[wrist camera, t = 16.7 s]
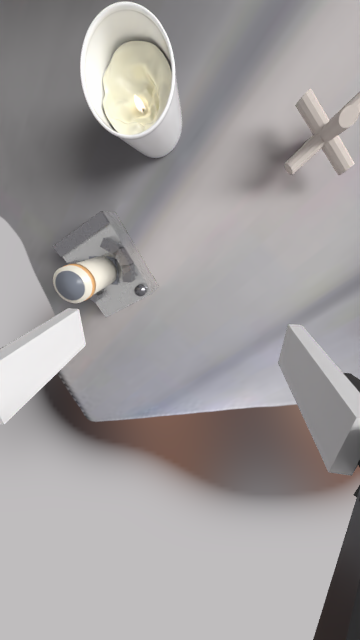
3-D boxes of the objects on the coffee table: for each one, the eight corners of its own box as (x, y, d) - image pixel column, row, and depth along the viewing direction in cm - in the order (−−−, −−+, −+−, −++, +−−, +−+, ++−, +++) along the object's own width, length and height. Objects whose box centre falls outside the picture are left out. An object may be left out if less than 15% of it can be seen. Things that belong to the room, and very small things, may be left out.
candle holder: (123, 160, 35) (82, 132, 24) (124, 76, 30) (75, -4, 20) (182, 168, 34) (169, 143, 23) (192, 83, 30) (180, 4, 19)
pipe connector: (296, 203, 34) (326, 196, 25) (258, 147, 32) (276, 118, 23) (362, 146, 30) (426, 114, 21) (324, 79, 28) (377, 11, 19)
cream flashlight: (93, 283, 39) (55, 303, 30) (88, 254, 37) (47, 265, 27) (120, 285, 38) (91, 305, 29) (117, 255, 36) (84, 267, 27)
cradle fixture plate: (72, 243, 41) (46, 247, 35) (115, 212, 38) (96, 210, 32) (116, 308, 46) (100, 322, 40) (158, 285, 43) (149, 296, 36)
